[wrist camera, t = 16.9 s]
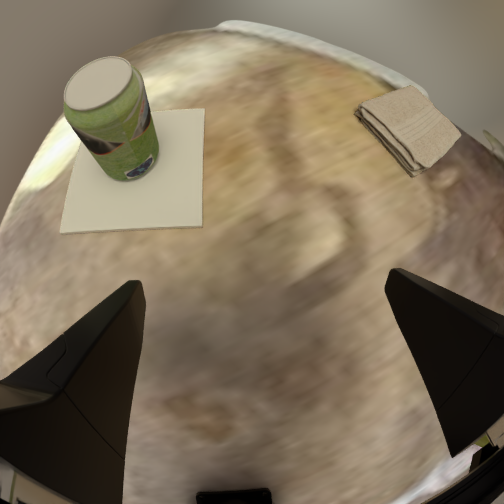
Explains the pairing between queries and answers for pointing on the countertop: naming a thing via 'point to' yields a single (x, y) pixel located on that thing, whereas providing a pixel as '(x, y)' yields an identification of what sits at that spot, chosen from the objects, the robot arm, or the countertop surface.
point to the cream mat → (143, 184)
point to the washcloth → (409, 128)
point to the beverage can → (112, 117)
